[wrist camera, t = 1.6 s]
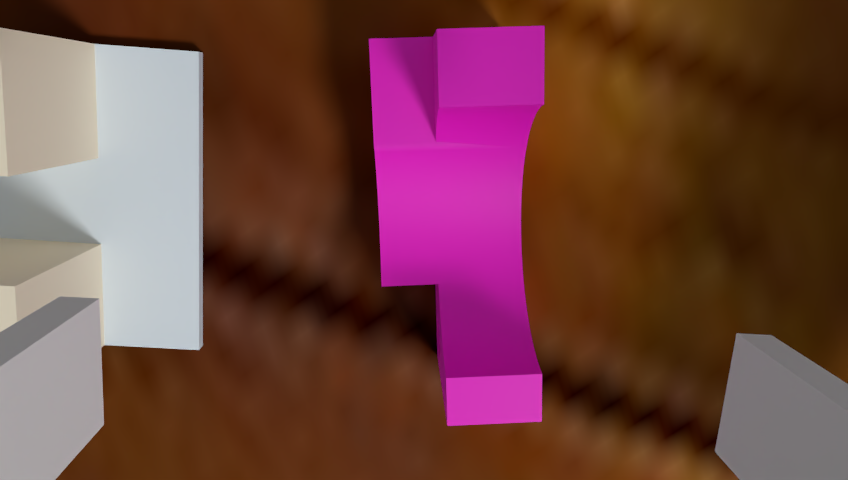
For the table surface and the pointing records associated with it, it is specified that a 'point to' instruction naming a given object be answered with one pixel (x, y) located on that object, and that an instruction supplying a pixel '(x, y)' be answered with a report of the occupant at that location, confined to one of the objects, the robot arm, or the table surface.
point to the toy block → (462, 203)
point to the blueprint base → (103, 185)
